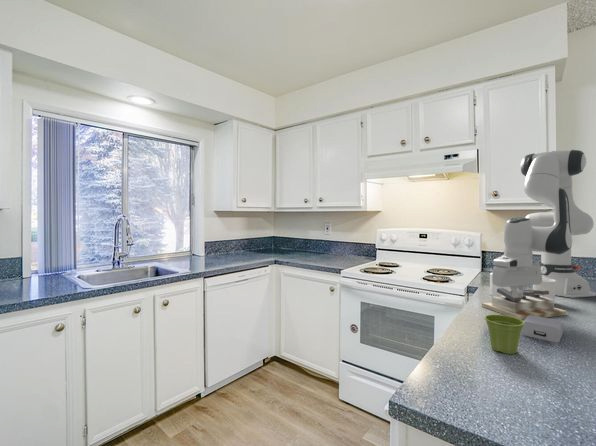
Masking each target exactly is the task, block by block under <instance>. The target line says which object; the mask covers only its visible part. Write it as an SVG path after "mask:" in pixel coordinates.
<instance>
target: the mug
mask: <svg viewBox="0 0 596 446" xmlns="http://www.w3.org/2000/svg"><path fill="white" fill-rule="evenodd" d="M492 273H493V272H490V273H489V295H490V296H491V297H494V296H503V295H501V294H500V293H498V292H497V289H499V288H504V289H506V290H508V291H511V289H510V286H509V287H499V286H495V285H494V284H493V281H492ZM518 288H519V287H518Z"/></svg>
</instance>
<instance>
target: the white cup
mask: <svg viewBox="0 0 596 446" xmlns="http://www.w3.org/2000/svg"><path fill="white" fill-rule="evenodd" d="M555 288H556V280H553V279H548V278H542V283H541V284H537V285H532V290H548V291H549V294H547V295H540V296H542V297H546V298H550V299H554V300H555V296H556V295H555ZM535 295H539V294H535Z"/></svg>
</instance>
